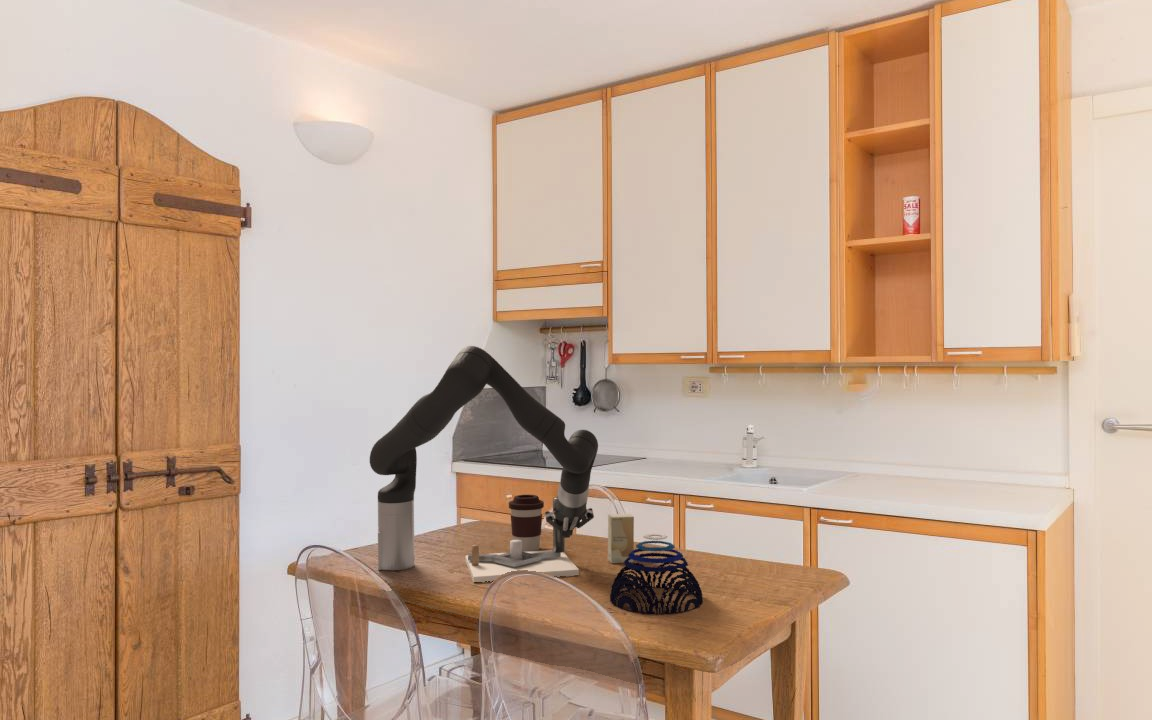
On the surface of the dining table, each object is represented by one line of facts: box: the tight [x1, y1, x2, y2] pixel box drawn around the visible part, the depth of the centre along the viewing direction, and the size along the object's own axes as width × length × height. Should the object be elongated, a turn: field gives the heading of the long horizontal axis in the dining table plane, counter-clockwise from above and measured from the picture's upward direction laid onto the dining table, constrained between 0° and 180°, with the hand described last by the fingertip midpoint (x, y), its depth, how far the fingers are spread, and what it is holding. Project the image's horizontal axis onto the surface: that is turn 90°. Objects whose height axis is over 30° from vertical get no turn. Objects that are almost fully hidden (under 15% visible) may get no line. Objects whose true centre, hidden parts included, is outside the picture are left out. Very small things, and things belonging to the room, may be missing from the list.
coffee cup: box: [508, 494, 545, 552], centre depth 227 cm, size 10×10×15 cm
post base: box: [465, 539, 580, 583], centre depth 206 cm, size 26×22×7 cm
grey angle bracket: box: [467, 496, 566, 567], centre depth 209 cm, size 20×17×15 cm
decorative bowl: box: [609, 532, 704, 616], centre depth 178 cm, size 20×20×14 cm
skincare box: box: [607, 513, 635, 564], centre depth 212 cm, size 6×4×12 cm
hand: (566, 534), depth 210 cm, fingers closed
